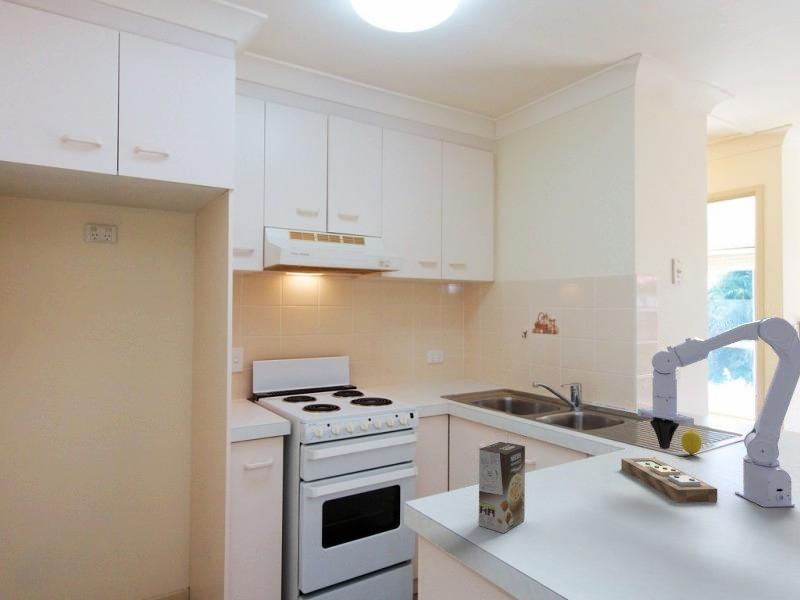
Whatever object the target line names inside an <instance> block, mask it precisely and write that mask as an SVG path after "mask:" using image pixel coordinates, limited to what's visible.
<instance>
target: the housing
mask: <svg viewBox="0 0 800 600" xmlns="http://www.w3.org/2000/svg"><path fill="white" fill-rule="evenodd" d="M620 460H621V461H620V462H621V465H620V466H621V470H622V471H624V472H625V473H627V474H629V475H631V476H632V477H634V478H635V479H637V480H639V481H640V482H643V483H644V484H645V485H647V486H649V487H650V488H652V489H654V490H656V491H657V492H659V493H661V494H663V495H665V496H666V497H667V498H669V499H671V500H672V501H674V502H676V503H704V502H705V503H706V502H707V503H708V502H709V503H710V502H715V503H716V502H718V488H717V487H714V486H713V485H711V484H708V483H707V482H704V481H702V480H700V479H698V478H696V477H694V476H692V475H690V474H688V473H686V472H684V471H682V470H680V469H678V468H676V467H674V466H671V465H670V464H668V463H666V462H664V461H661V460H660V459H658V458H656V457H643V458H640V457H638V458H637V457H636V458H634V457H633V458H631V457H630V458H628V457H627V458H621V459H620ZM648 461H651V462H653V463H655V464H657V465H659V466H670V467H672V468H674V469H676V470H678V471H680V475H688V476H690V477H692V478H694V479H696V480H698V481H700V486H679V485H677V484H675V483H673V482H671V481H670V480H669V479H668V476H660V475H659V474H657V473H655V472H653V471H651V470H650V466H647V467H644V466H642V465H640V464H638V463H636V462H648Z"/></svg>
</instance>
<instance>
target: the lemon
mask: <svg viewBox="0 0 800 600" xmlns="http://www.w3.org/2000/svg"><path fill="white" fill-rule="evenodd" d="M681 446H682V449H683V450H684V451H685V452H687V453H688V454H689V455H690V454H692V455H691V456H693V455H695V454H697V453H698V452H699V451H701V448H702V438H701V436H700V434H699V433H698V432H696V431H694V429H689V430H687V431H684V432H683V434H682V436H681Z"/></svg>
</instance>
